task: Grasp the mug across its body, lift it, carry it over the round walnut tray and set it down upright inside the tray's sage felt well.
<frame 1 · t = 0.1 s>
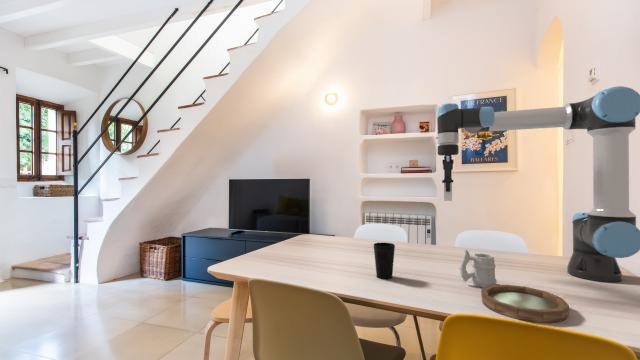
hand: (448, 199, 122), 28 cm above the table, fingers open, 13 cm apart
tray: (522, 306, 88), on the table
mug: (477, 285, 107), on the table
cup: (384, 277, 116), on the table
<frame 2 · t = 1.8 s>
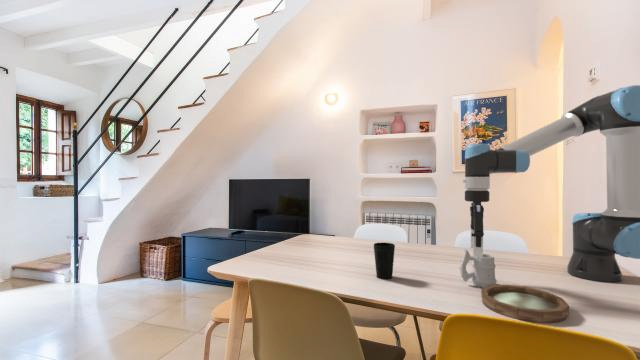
hand: (476, 252, 107), 11 cm above the table, fingers open, 13 cm apart
nothing on the table moved.
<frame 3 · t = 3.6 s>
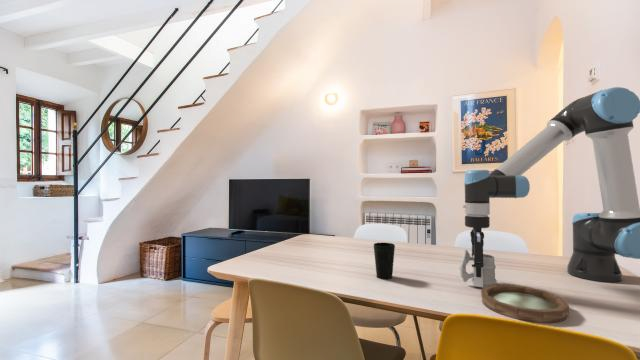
hand: (477, 282, 107), 1 cm above the table, fingers closed on mug, 7 cm apart
mug: (477, 285, 107), on the table, touching gripper
everything else where it was.
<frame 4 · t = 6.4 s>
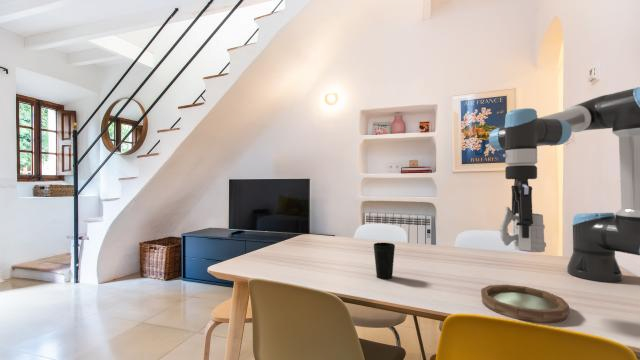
hand: (521, 246, 88), 17 cm above the table, fingers closed on mug, 7 cm apart
mug: (521, 250, 88), point 16 cm above the table, touching gripper
everything else where it was.
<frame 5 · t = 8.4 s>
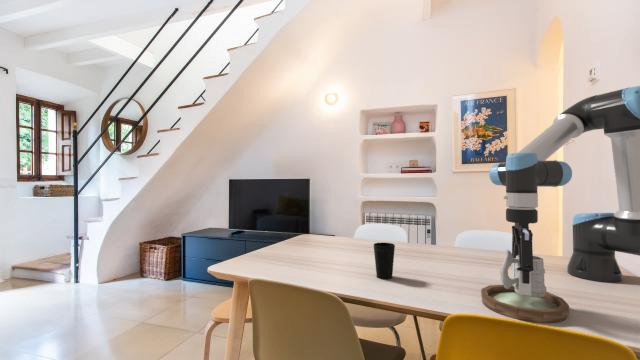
hand: (521, 289, 88), 5 cm above the table, fingers closed on mug, 7 cm apart
mug: (522, 293, 88), point 4 cm above the table, touching gripper
everything else where it was.
when the fingers open (4 cm above the table, at t = 9.5 s): mug drops 2 cm, resting on tray.
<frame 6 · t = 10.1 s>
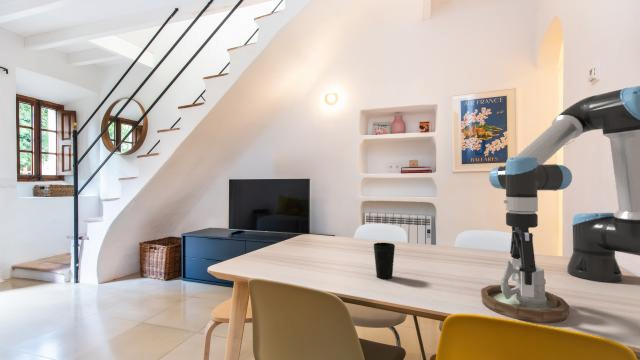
hand: (521, 288, 88), 5 cm above the table, fingers open, 13 cm apart
mug: (522, 303, 88), point 1 cm above the table, touching tray
everything else where it was.
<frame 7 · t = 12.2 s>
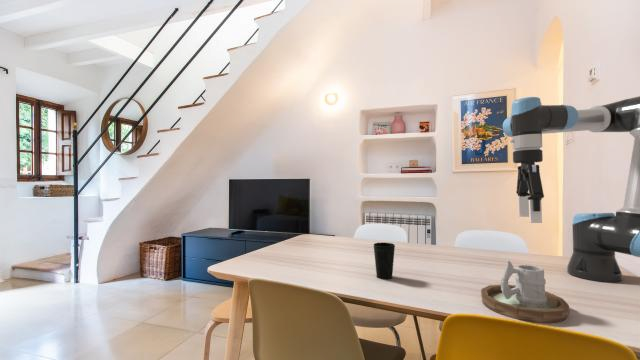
hand: (529, 219, 96), 23 cm above the table, fingers open, 13 cm apart
nothing on the table moved.
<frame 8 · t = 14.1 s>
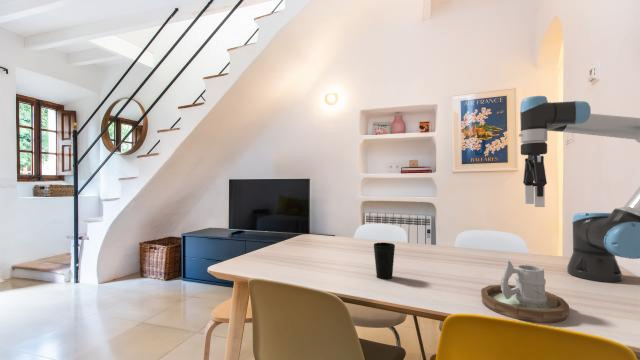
hand: (534, 205, 108), 27 cm above the table, fingers open, 13 cm apart
nothing on the table moved.
at the end: mug inside the target area on the tray (0.7 cm from its centre), point 1.0 cm above the tray's base; mug tilted 0°; the gripper is holding nothing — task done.
